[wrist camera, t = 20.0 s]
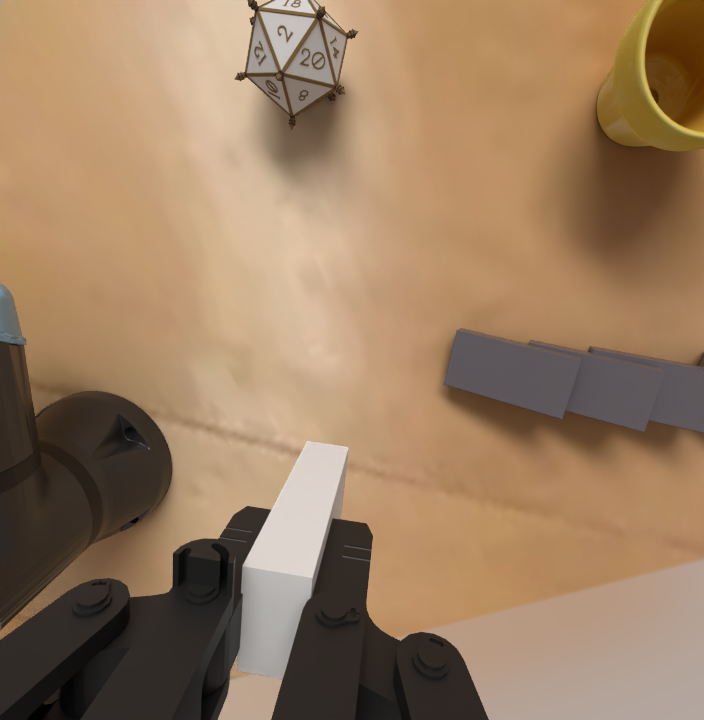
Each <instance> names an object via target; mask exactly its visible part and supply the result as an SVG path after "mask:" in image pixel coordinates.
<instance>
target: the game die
mask: <svg viewBox="0 0 704 720" xmlns="http://www.w3.org/2000/svg"><path fill="white" fill-rule="evenodd" d="M248 5H249V7H251V9H252V10H255V14H254V17H252V18H249V19H250V22H251V25H253V26H252V32H251V38H250V44H249V51H248V57H247V63H246V69H245V72H244V73H238V74H237V76H236V78H235V79H236V80H240V81H241V80H244V79H245V78H246V77H247V78H248V79H249V80H251V81H252V82H253V83H254V84H255V85H256V86H257V87H258V88H259V89H261V90H262V91H263V92H264V93H265V94H266V95H267V96H268V97H270V98H271V99H272V100H273V101H274V102H275V103H276V104H277V105H278V106H280V107H281V108H282V109H283V110H284V111H285V112H286V113H287V114H289V115H290V120H289V121H290V122H289V125H290V127H291V130H292V128H293V127H294V126H295V125H296V124H295V122H296V121H295V116H297V115H299V114H300V113H302V112H303V111H305V110H306V109H308V108H309V107H311V106H313V105H314V104H316V103H317V102H319V101H320V100H322V99H323V98H325V97H327V96H328V98H329V99H330V101H335V95H334V94H333V93H332V92H333V91H334V90H335V89H336V92H338V94H340V95H341V94H345V91H344V87H342V86H341V85H338V83H339V78H340V73H341V68H342V63H343V59H344V54H345V49H346V44H347V39H348V38H351V39H352V38H355V36H356V34H357V33H358V31H355V30H353V29H352V30H351V31H349V32H348V33H346V32H345V31H344V30H343V29H342V28H341V27H340V26H339V25H338V24H337V23H336V22H335V21H334V20H333V19H332V18H331V17H330V15H329V14H328V13H327V12H326V11H325V6H324V7H321V6H320V5H319V4H318V3H317V2H316V1H315V0H271V1H269V2H267V3H265V4H263V5H261V6H258V5H257V2H255V0H248Z"/></svg>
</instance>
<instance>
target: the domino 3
mask: <svg viewBox="0 0 704 720" xmlns="http://www.w3.org/2000/svg"><path fill="white" fill-rule="evenodd" d="M589 353H594V354H598V355H603V356H608V357H612V358H617V359H622V360H626V361H631V362H635V363H640V364H645V365H649V366H654V367H659V368H661V369H662V370H663V371H664V372H665V373H664V376H663V379H662V382H661V385H660V388H659V391H658V394H657V397H656V400H655V403H654V406H653V409H652V412H651V414H650V417H649V420H650V421H654V422H659V423H663V424H668V425H672V426H676V427H681V428H685V429H690V430H694V431H699V432H703V433H704V367H701V366H695V365H690V364H684V363H679V362H674V361H668V360H663V359H657V358H652V357H646V356H641V355H635V354H630V353H625V352H619V351H614V350H608V349H603V348H597V347H592V346H590V349H589Z"/></svg>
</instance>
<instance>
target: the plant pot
mask: <svg viewBox="0 0 704 720" xmlns="http://www.w3.org/2000/svg"><path fill="white" fill-rule="evenodd" d="M652 95H653V96H652ZM653 97H654V98H653ZM597 116H598V120H599V123H600V125H601V127H602V129H603V131H604V132H605V133H606V135H607V136H608V137H609V138H610V139H612V140H613V141H615V142H617V143H619V144H621V145H625V146H633V147H634V146H654V147H656V148H659V149H663V150H669V151H693V150H698V149H703V148H704V0H648V1H647V2H646V3H645V4H644V5H643V7H642V8H641V9H640V10H639V12H638V13H637V14H636V15H635V17H634V18H633V20H632V21H631V23H630V24H629V26H628V27H627V29H626V31H625V33H624V35H623V37H622V40H621V42H620V45H619V48H618V50H617V54H616V58H615V62H614V66H613V67H612V69H611V70H610V72H609V74H608V75H607V77H606V79H605V81H604V82H603V84H602V87H601V89H600V92H599V95H598V100H597Z"/></svg>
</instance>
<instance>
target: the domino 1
mask: <svg viewBox="0 0 704 720" xmlns="http://www.w3.org/2000/svg"><path fill="white" fill-rule="evenodd" d="M580 363H581V357H578V356H574V355H570V354H566V353H562V352H557V351H553V350H549V349H545V348H541V347H537V346H533V345H528V344H524V343H520V342H516V341H512V340H508V339H504V338H500V337H495V336H491V335H487V334H483V333H479V332H475V331H471V330H466V329H462V328H461V329H459V330H457V332H456V336H455V340H454V344H453V348H452V352H451V356H450V361H449V365H448V369H447V373H446V377H445V381H444V384H445V385H448V386H452V387H455V388H459V389H462V390H465V391H469V392H472V393H475V394H479V395H482V396H486V397H489V398H492V399H496V400H499V401H502V402H506V403H509V404H513V405H516V406H519V407H523V408H526V409H529V410H533V411H536V412H540V413H543V414H546V415H550V416H553V417H556V418H560V419H563V416H564V413H565V410H566V407H567V403H568V400H569V397H570V394H571V391H572V388H573V385H574V382H575V379H576V376H577V372H578V369H579V366H580Z"/></svg>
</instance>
